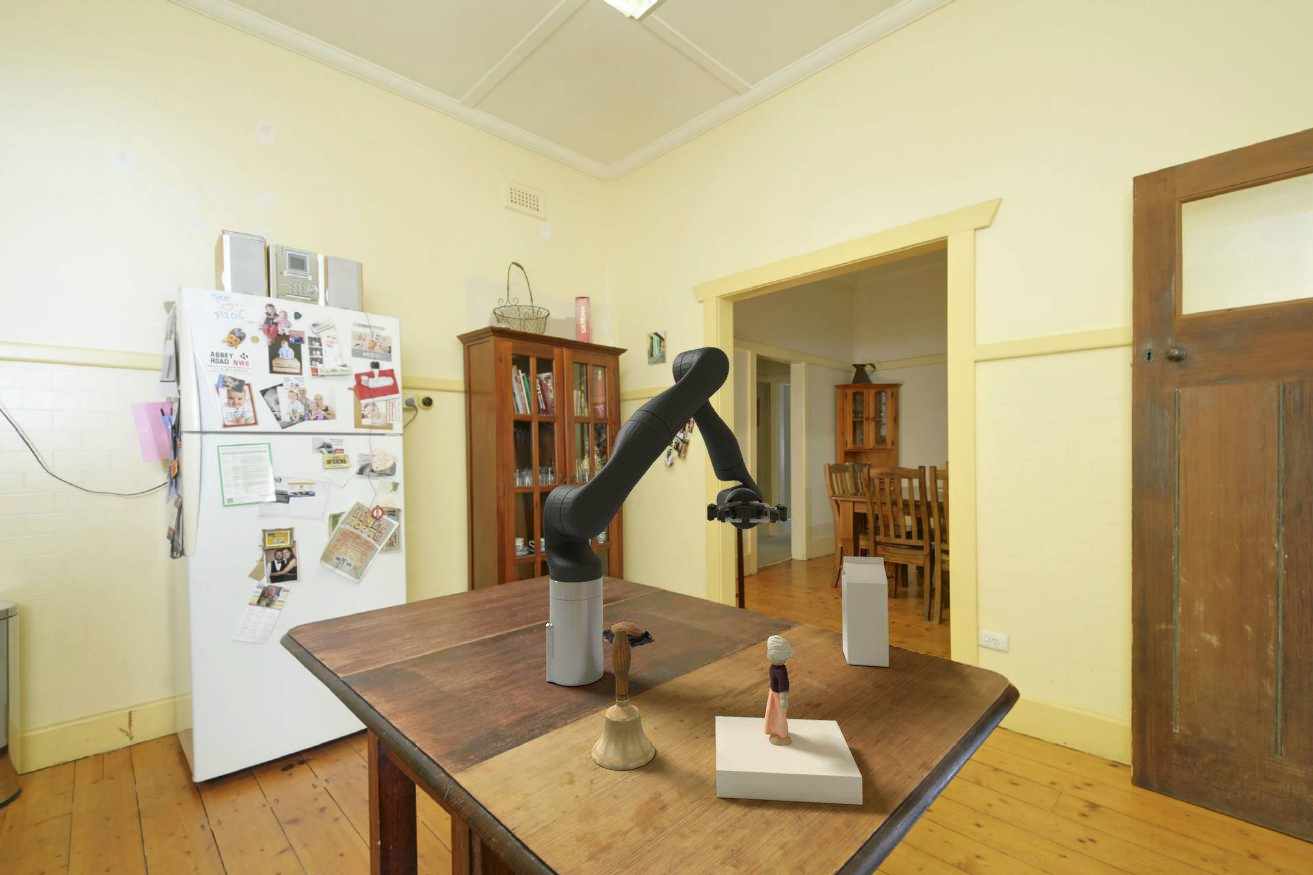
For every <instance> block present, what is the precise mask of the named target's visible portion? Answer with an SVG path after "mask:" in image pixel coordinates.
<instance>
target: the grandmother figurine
mask: <svg viewBox="0 0 1313 875" xmlns="http://www.w3.org/2000/svg"><path fill="white" fill-rule="evenodd" d="M794 656H795V653H794V649H793V647H792V646H791V645H790V643H789V641H788V640H787V639H785V638H783V637H782V636H780V635H776V634H775V635H771V636H769V637H768V639H767V651H766V657H767V660H768V662H769V663H770V666H769V681H770V684H769V691H768V697H767V702H766V710H765V713H764V714H765V716H764V718H765V721H764V733H765V734H767V735H769V734H771V735H770V738H769V741H770V743H771V744H773V745H789V744H791V743H792V740H791V738H790V737H789V736H788V723H787V719H788V718H787V712H788V708H789V707H790V706H789V704H790V703H789V693H790V692H789V691H790V680H789V674H788V669H787V668H788V667H786V663H787V661H788V658H790V659H791V658H793V657H794Z"/></svg>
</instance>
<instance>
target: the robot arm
mask: <svg viewBox="0 0 1313 875" xmlns="http://www.w3.org/2000/svg"><path fill="white" fill-rule="evenodd" d="M671 372H672V376H673V379H674V380H673V381H674V382H675V384H673V385H672V386H670V387H669V388H667V389H665V390H664V391H662V392H661V393H659V394H657V395H655V396H654V397H653V398H651V399H649V400H648V401H646V402H645V403H644V404H643V405H641V406H639V407H638V409H636V411H635V412H633V414H632V415H631V416H630V417H629V418H628V419H627V420H626V422H624V423H623V425H622V426H621V428H620V429H619V430H618V433H617V434H616V437H615V440H614V444H613V447H612V452H611V455H610V457H609V459H608V460H607V462H606V463H605V465H604V466H603V467H602V468H601V469H600V470H599V472H598V473H596V475H595V476H593V477H592V479H590V480H589V481H588V482H587V483H585V484H584V485H582V484H581V485H580V484H562V485H558V486H557V487H554V489H553V490H551V492H550V493H549V494H548V496H547V497H546V500H545V503H544V506H543V507H544V508H543V513H542V514H543V516H542V517H543V523H542V524H543V544H544V548H543V549H544V556H545V557H544V558H545V561H546V564H547V567H548V569H549V570H548V571H549V622H548V623H547V624H546V625H545V626H546V627H545V639H546V640H545V646H546V647H545V654H546V655H545V665H546V666H545V667H546V668H545V674H546V676H545V681H546V682H552V683H555V684H557V685H561V686H569V687H570V686H571V687H574V686H575V687H577V686H583V685H584V686H586V685H589V684H592V683H596V682H597V681H599V680H601V678H602V677H603V676H604V640H603V631H604V602H603V601H604V594H603V593H604V592H603V591H604V588H603V586H604V584H603V581H604V580H603V574H604V573H603V572H604V570H603V569H604V568H603V561H602V560H601V558H600V557H599V556H598V555H597V554H596V552H594V550H593V548H592V546H591V544H590V540H593V539H595V538H597V537H599V536H600V535H601V534H602V533H603V532H605V530H606V529H607V528H608V527H609V525H610V524H611V522H612V521H613V520H614V518H615V517H616V516H617V513H618V512H619V511H620V509H621V508H622V506H623V505H624V503H625V501H626V500H627V498H628V497H629V495H630V494H631V492H632V491H633V489H634V488H635V487H636V486H637V484H638V483H639V482H640V480H642V478H643V477H644V476H645V474H646V473H647V472H648V470H649V469H650V468H651V467H652V466H653V465H654V463H655V462H656V461H657V460H658V459H659V458H660V456H661V455H662V454H663V453H664V451H665V450H666V449H667V448H668V447H669V445H670V444H671V443H672V442H673V441H674V439H675V438H676V436H677V435H678V434H679V432H681V430H682V429H683V428H684V427H685V426H686V425H687V423H688V422H689V421H690V420H691V418H692V419H693V421H694V423H695V425H696V427H697V429H698V431H699V433H700V435H701V437H702V440H703V442H704V445H705V448H706V451H707V454H708V456H709V460H710V463H711V466H712V470H713V472H714V475H715V478H716V479H717V480H719V481H720V482H733V481H734V482H735V481H736V482H739V483H741V484H737V485H735V486H734V485H733V486H731V487H728V488H725V489H722V490H720V491H719V492H718V493H717V495H716V504H715V503H712V502H711V503H710V504H707V507H706V520H707V521H709V522H712V521H714V520H715V519H716V521H718V522H721V523H723V524H724V523H729V524H730V525H732V526H733V527H735V528H737V529H740V530H750V529H754V528H755V527H757V526H758V525H760V523H762V524H763V523H770V524H776V523H777V522H778V521H780V522H783V523H785V522H788V507H787V506H786V505H784V504H781V503H778V504H775V505H773V506H770V503H766V502H765V498H764V495H763V493H762V491H761V489H760V487H759V486H758V485H757V482H755V480H754V479H753V477H752V476H751V474H750V472H749V470H748V468H747V467H746V463H745V461H744V458H743V455H742V450H741V448H740V445H739V441H738V439H737V438H736V436H735V434H734V432H733V431H732V430H731V428H730V427H729V425H727V423H726V422H725V421H724V420H723V418H721V416H720V415H719V414H718V413H717V411H716V409H715V408H714V407H713V405H712V404H711V401H710V399H711V397H713V395H714V394H716V393H717V392H718V391H719V390H720V389H721V388H722V387H723V386H724V385H725V383H726V381H727V379H728V376H729V372H730V360H729V358H728V355H727V354H726V353H725V351H724V350H722V349H721V348H719V347H714V346H704V347H700V348H695V349H691V350H686V351H682V352H680V353H678V354H677V355H676V357H674V360H673V362H672V371H671Z"/></svg>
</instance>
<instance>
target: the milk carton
mask: <svg viewBox="0 0 1313 875" xmlns="http://www.w3.org/2000/svg"><path fill="white" fill-rule="evenodd" d="M884 559H885V558H884V557H877V556H875V557H871V556H870V557H869V556H846V555H845V556H843V564H842V568H841V569H842V570H841V607H842V608H841V609H842V612H841V613H842V617H841V618H842V651H843V654H844V656H845V659H846V663H847V664H848V665H856V666H857V665H859V666H871V667H872V666H874V667H885V668H886V667H889V666H890V658H889V656H890V655H889V654H890V652H889V651H890V650H889V600H888V599H889V598H888V597H889V596H888V593H889V589H888V583H889V582H888V578H887V574H886V568H885V561H884Z"/></svg>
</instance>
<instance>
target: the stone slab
mask: <svg viewBox="0 0 1313 875" xmlns="http://www.w3.org/2000/svg"><path fill="white" fill-rule="evenodd" d="M764 721H765V717H745V716H744V717H743V716H720V715H719V716H718V715H717V716H716V715H715V771H716V772H715V776H716V777H715V778H716V779H715V780H716V782H715V784H716V786H715V787H716V797H717V798H729V799H730V798H732V799H747V800H748V799H749V800H750V799H751V800H767V801H784V802H785V801H786V802H787V801H788V802H802V803H803V802H805V803H809V802H810V803H825V804H826V803H827V804H828V803H829V804H844V805H863V804H864V803H863V776H862V774H861V771H860V769H859V768H858V765H857V763H856V761H855V759H854V757H853V755H852V752H851V750H850V747H849V746H848V743H847V742H846V739H845V737H844V735H843V733H842V730H841V728H840V726H839V724H838V722H837V720H827V719H826V720H825V719H823V720H822V719H821V720H819V719H802V718H801V719H800V718H799V719H797V718H796V719H795V718H787V723H788V736H789V737H790V738H791V740H792V743H791V744H789V745H773V744H771V743H770V741H769V738H770V735H771V734H769V735H767V734H765V733H764Z"/></svg>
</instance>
